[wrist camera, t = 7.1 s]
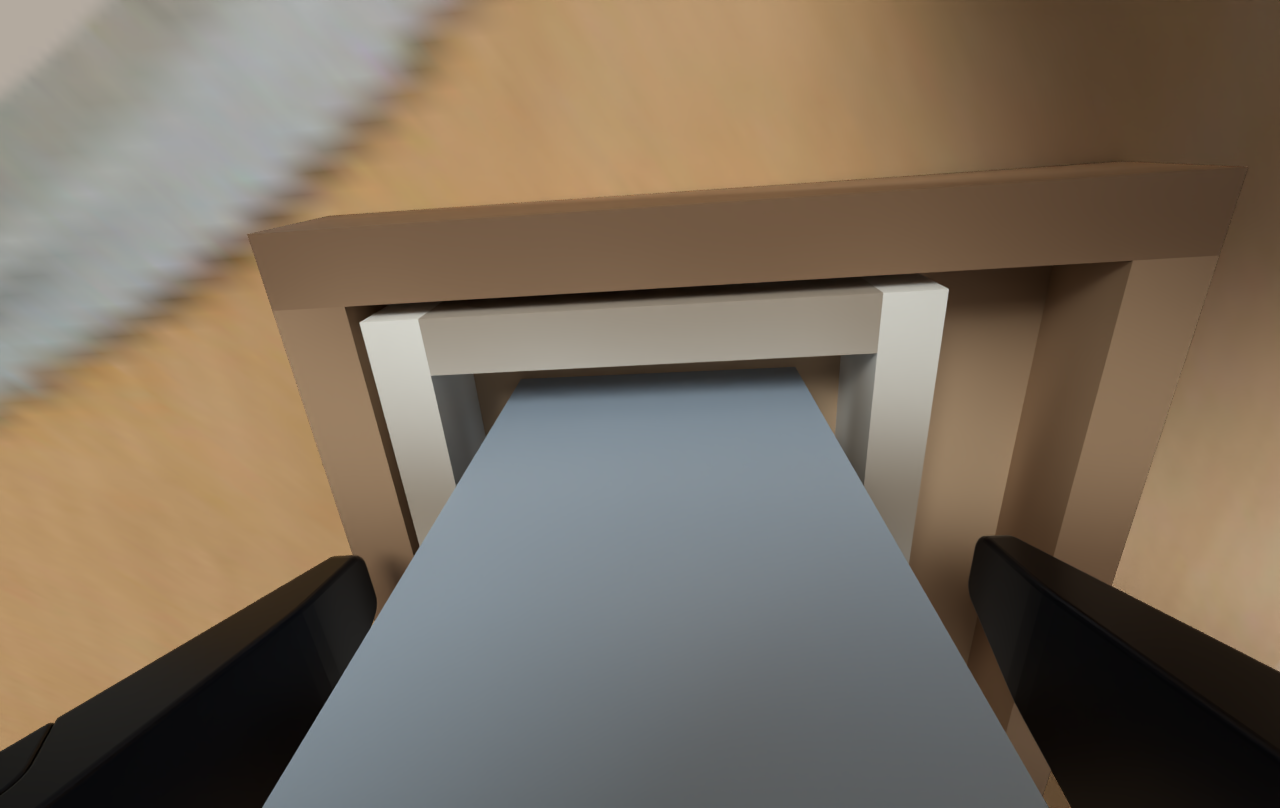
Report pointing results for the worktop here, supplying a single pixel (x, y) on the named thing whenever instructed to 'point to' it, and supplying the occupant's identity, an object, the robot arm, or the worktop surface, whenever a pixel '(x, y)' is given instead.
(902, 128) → the worktop surface
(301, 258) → the walnut box
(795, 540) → the block
